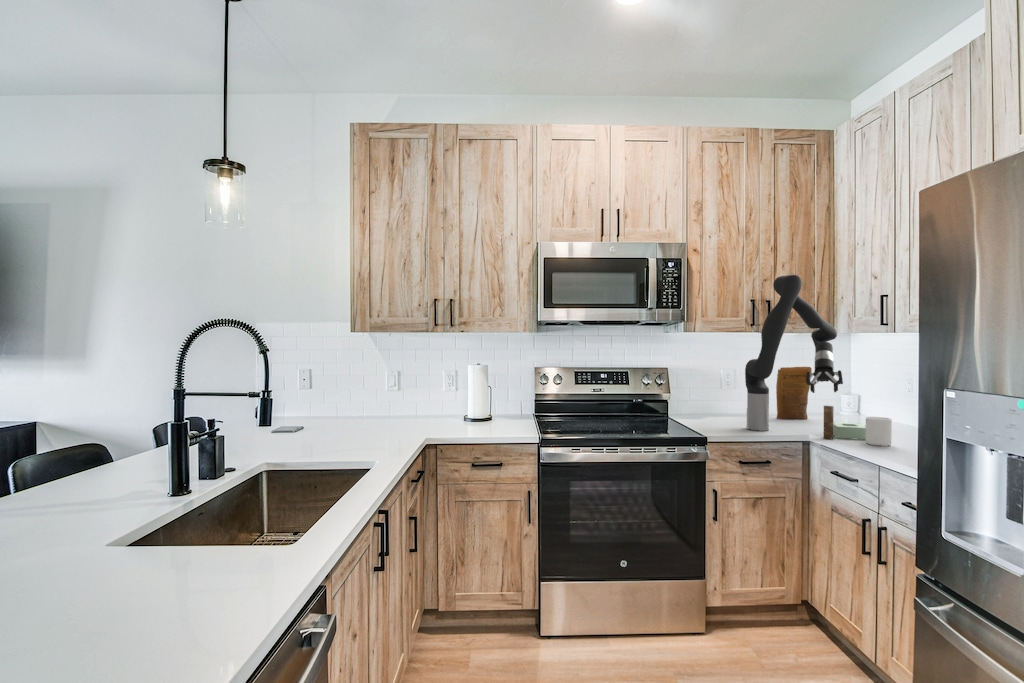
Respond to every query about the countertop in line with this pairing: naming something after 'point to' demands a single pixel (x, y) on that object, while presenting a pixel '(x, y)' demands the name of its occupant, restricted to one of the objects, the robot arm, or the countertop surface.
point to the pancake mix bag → (792, 392)
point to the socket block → (849, 430)
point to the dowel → (828, 422)
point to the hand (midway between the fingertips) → (824, 391)
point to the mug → (878, 431)
